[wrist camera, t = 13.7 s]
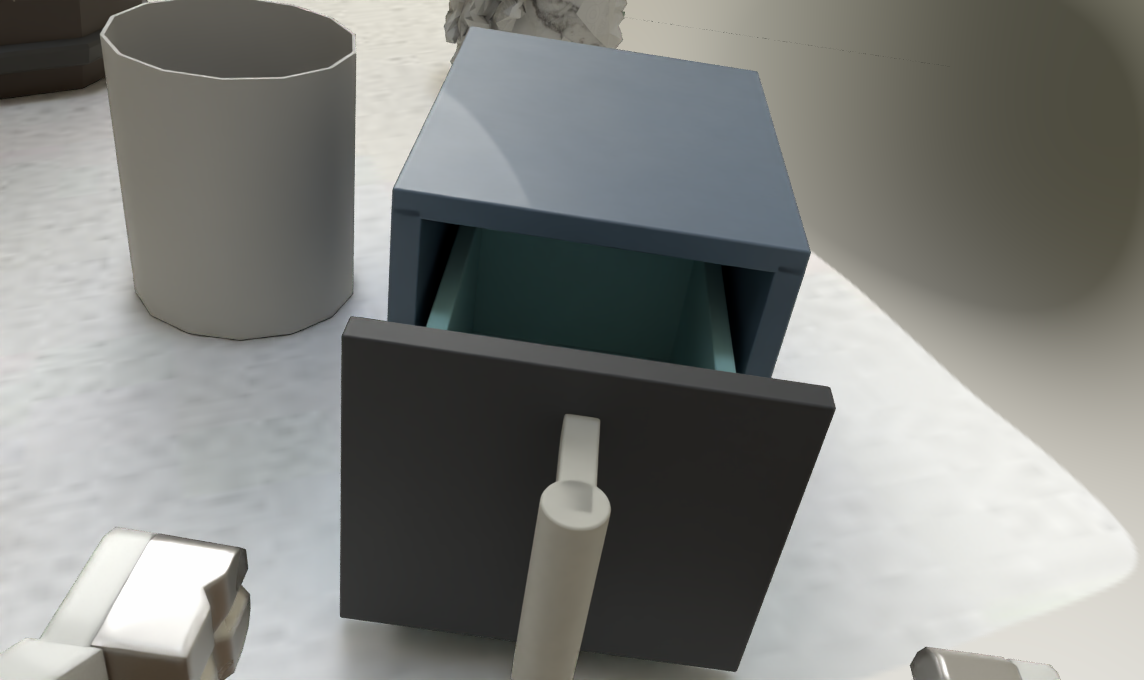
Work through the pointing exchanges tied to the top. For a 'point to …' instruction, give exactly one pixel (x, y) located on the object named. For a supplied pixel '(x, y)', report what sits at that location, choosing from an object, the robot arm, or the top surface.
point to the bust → (539, 20)
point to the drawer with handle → (569, 459)
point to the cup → (235, 161)
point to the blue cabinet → (604, 173)
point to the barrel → (53, 43)
